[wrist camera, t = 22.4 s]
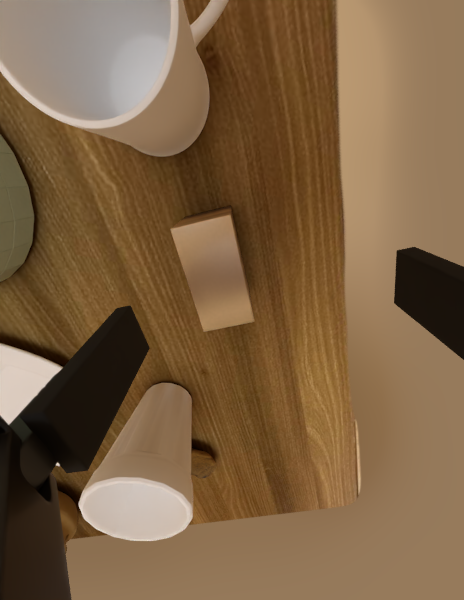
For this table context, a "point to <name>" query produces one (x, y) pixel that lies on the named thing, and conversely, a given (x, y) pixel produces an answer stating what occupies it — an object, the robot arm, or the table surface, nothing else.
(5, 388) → the plate
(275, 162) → the table surface
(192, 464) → the ginger root
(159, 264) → the table surface
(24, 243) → the bowl
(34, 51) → the mug
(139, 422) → the cup
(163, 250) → the table surface
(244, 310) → the block
